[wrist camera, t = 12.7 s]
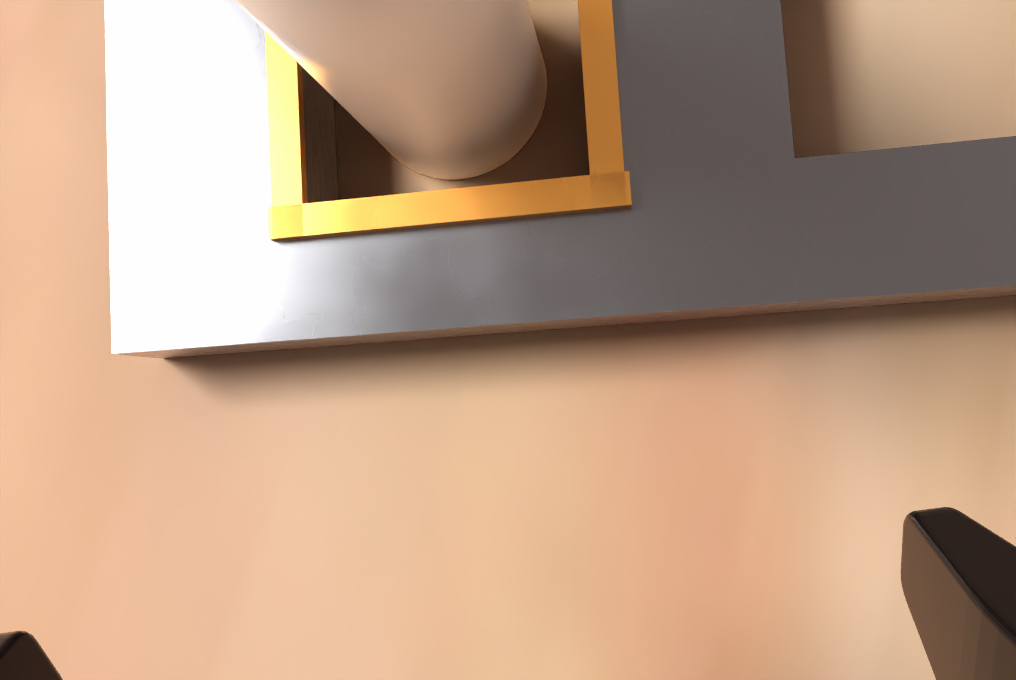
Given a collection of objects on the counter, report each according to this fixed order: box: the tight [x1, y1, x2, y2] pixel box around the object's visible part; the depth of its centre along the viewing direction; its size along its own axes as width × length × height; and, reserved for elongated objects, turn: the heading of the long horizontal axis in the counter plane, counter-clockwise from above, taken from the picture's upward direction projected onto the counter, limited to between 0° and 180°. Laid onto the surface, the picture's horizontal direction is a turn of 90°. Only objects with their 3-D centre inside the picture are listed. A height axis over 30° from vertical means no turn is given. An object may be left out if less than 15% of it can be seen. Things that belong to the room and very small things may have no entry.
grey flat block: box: [104, 0, 1016, 358], centre depth 18 cm, size 26×12×2 cm, turn 94°
